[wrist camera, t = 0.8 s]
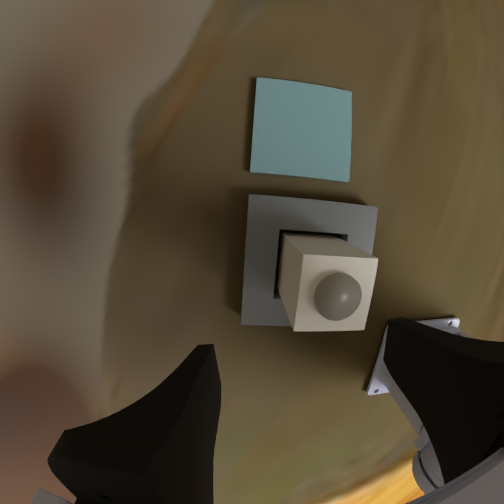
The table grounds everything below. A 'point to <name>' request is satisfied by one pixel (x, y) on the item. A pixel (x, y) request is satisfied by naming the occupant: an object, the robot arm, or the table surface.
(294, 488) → the table surface
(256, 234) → the grey square frame
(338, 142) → the mat
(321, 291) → the plug
